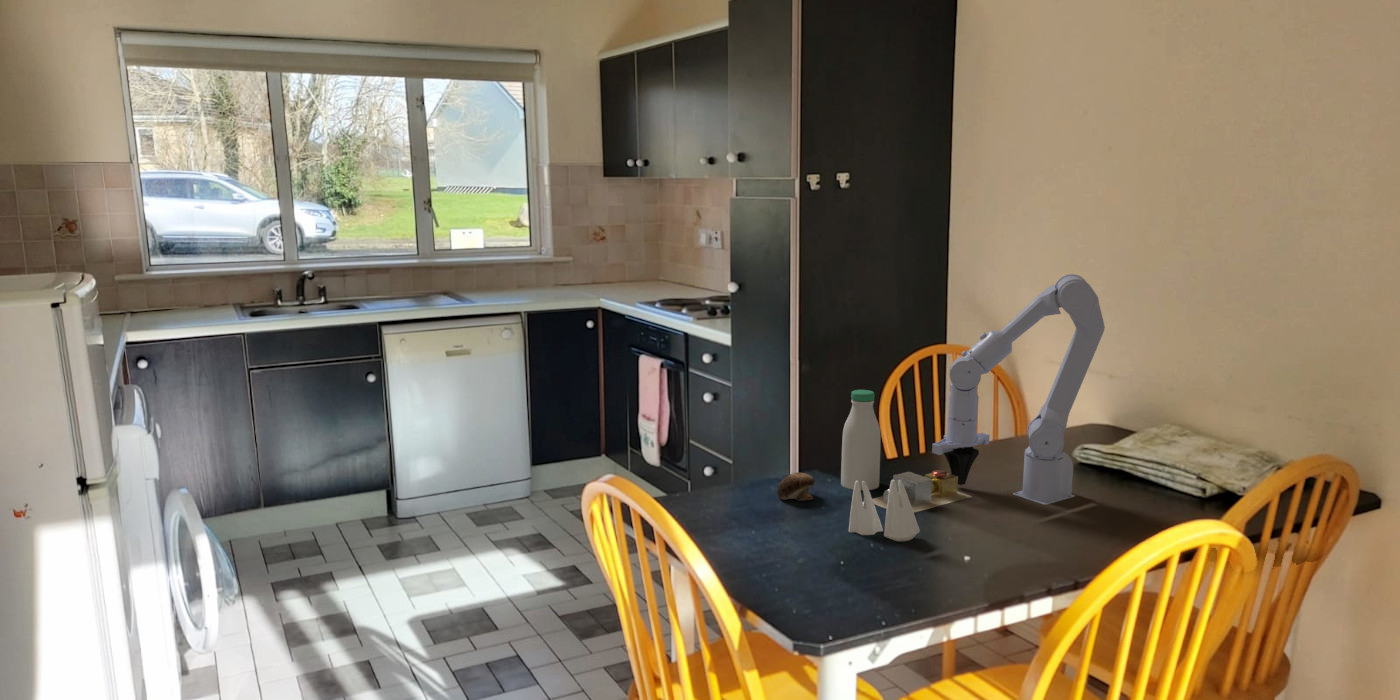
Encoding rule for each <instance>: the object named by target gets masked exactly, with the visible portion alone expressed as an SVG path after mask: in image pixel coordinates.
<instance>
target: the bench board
mask: <svg viewBox="0 0 1400 700" xmlns="http://www.w3.org/2000/svg"><path fill="white" fill-rule="evenodd" d="M972 497H973V496H971V495H969V494H966V493H963V492H961V491H957V494H955V495H952V496H948V497H944V498H939V497H937V496H934V495H931V503H928V504H925V505H921V506H917V507H914V506H911V507H912V509H913V512H914V514H915V513H918V512H921V511H926V510H929V509H932V508H936V507H941V506H943V505H948V504H952V503H954V502H959V501H962V500H966V499H970V498H972ZM872 500H873V502H874V504H875V505H876V506H878V507H880V508H883V509H886V510H887V504H886V502H885V501H884V498H883V495H881V496H878V497H874V498H872Z"/></svg>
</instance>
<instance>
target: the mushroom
mask: <svg viewBox="0 0 1400 700" xmlns="http://www.w3.org/2000/svg"><path fill="white" fill-rule="evenodd" d="M815 483H816V480H815V478H814V477H813V475H810V474H808V473H805V472H793V473H791V474H789V475H787V476H786V477H784V478H783V479H782V480H781V481H780V483H779V484H778V486H777V496H778V498H779V499H780V500H782V501H783V500H784V501H786V500H790V499H791V500H792V499H793V500H796V501H798V502H800V501H801V502H803V501H812V500H814V499H815V498H814V496H813V495H812V494H811V493H810V492H809V489H810V488H811V487H813V486H814V485H815Z"/></svg>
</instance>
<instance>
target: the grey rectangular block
mask: <svg viewBox="0 0 1400 700" xmlns="http://www.w3.org/2000/svg"><path fill="white" fill-rule="evenodd" d="M892 480H895V483H896V488H897V492H898V493H899V485H898V481H899V480H901V481H902V483H903V485H904V487H905V490H906V493H907V496H908V498H909V501H910V504H911V506H914V507H917V506H921V505H925V504H928V503H931V489H932V479H929V478H926V477H925V476H922V475H920V474H917V473H914V472H911V471H906V472H901V473H896V474H893V475H892ZM889 489H890V488H888V489H886V490H884V492H883V495H882V496H883V498H884V501H885V502H886V504H887V502H888V494H889Z"/></svg>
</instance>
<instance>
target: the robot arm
mask: <svg viewBox="0 0 1400 700" xmlns="http://www.w3.org/2000/svg"><path fill="white" fill-rule="evenodd" d="M1098 296H1099V295H1097V293H1096V292H1095V290H1094V289H1093V287H1092V286H1091V285H1090V284H1089V282H1087V280H1085V279H1084V278H1083V276H1080V275H1077V274H1073V273H1072V274H1065V275H1063V276H1061V277H1060V278H1059V279H1058V280H1057V281H1056V283H1055V284H1054V283H1053V284H1051V285H1050V286H1048V287H1046V288H1045V289H1044V290H1043V291H1042V292H1041V293H1039V294H1038V295H1037V296H1036V297H1034V299H1032V301H1030V302H1029V303H1028V304H1027V305H1026V306H1024V308H1023V309H1022V310H1021V311H1020V312H1019V313H1018V314H1016V316H1015V317H1013V318H1012V319H1011V320H1010V321H1009V322H1008V323H1007V324H1006V325H1005V326H1004V327H1003V328H1002V329H1000V330H990V331H988V332H987V333H986V332H984V331H983V333H981V334H980V335H979V339H980V340H978V341H977V342H976V343H975V344H974V345H973V346H971V348H969V349H968V350H963V351H962V352H961V356H960V357H958V358H957V359H955V360H954V361H953V362H952V364H951V366H950V368H949V379H950V381H951V382H950V386H949V394H948V405H947V407H948V408H947V428H946V430H947V431H946V434H944V435H943V439H941V440H939V441H937V442H934V443H932V446H931V447H932V448H931V453H932V454H935V455H938V456H941V455H944V457H945V459H946V461H947V463H948V465H949V469H950V472H951V473H950V474H952V475H955V476H958V485H960V486H962V485H966V483H967V481H968V480H967V479H968V476H969V473H970V470H971V468H972V466H973V464H974V462H975V461H976V459H977V458H978V456H979V455H980V454H979V453H980V451H979V449H977V448H974V447H976V446H980V445H985V446H986V445H989V444H990V434H987V433H983V432H980V433H977V432H978V416H979V395H978V387H979V384H980V383H981V379H982V375H985V374H988V373H989V372H990V371H992V369H994V368H995V367H997V366H998V364H999V363H1001V362H1002V361H1003V360H1004V359H1005V358H1006V357H1008V356H1009V355H1010V354H1011V353H1012V349H1013V342H1014V341H1016V340H1017V339H1019V337H1021V336H1022V335H1023V334H1024V333H1026V332H1027V331H1028V330H1030V329H1031V328H1032V327H1033V326H1034V325H1036V324H1037V323H1038V322H1039V321H1041V320H1042V319H1043V318H1044V317H1046V316H1055V315H1061V314H1062V312H1061V311H1060V308H1062V309H1063V310H1064V311H1065V313H1067V314H1068V315H1069V318H1071V321H1072V322H1073V324H1074V327H1075V330H1074V332H1073V335H1072V338H1071V340H1070V342H1069V345H1068V347H1067V350H1066V353H1065V355H1064V357H1063V359H1062V362H1061V364H1060V366H1059V368H1058V371H1057V374H1056V376H1055V379H1053V380H1054V381H1053V382H1052V383H1053V384H1052V386H1051V389H1050V391H1049V393H1048V396H1047V398H1046V399H1045V403H1044V404H1043V405H1042V407H1040V410H1039V412H1038V414H1037V415H1036V416H1035V418H1033V419H1032V420H1031V421H1030V422H1029V423H1028V425H1027V428H1026V429H1027V430H1026V432H1027V433H1026V434H1027V437H1028V440H1029V441H1028V444H1029V445H1028V447H1027V448H1025V450H1024V458H1023V459H1024V460H1023V472H1022V473H1023V474H1022V475H1023V476H1022V489H1021V490H1019V491H1016V492H1013V493H1012V494H1013V495H1014V496H1018V497H1020V498H1024V499H1026V500H1029V501H1033V502H1035V503H1039V504H1042V505H1045V506H1047V505H1051V504H1054V503H1056V502H1060V501H1065V500H1067V499H1068V500H1069V499H1070V498H1071V499H1072V498H1074V497H1076V495H1075V494H1073V493H1072V491H1073V488H1072V487H1073V475H1074V464H1073V461H1072V458H1071V457H1070V456H1069V455H1068V454H1067V453H1066V452H1064V451H1063V449H1064V446H1065V440H1064V439H1065V438H1064V434H1065V431H1066V428H1067V426H1068V420H1069V416H1070V413H1071V410H1072V407H1073V406H1074V403H1075V400H1076V398H1077V396H1078V394H1079V391H1080V389H1081V387H1082V384H1083V381H1084V380H1085V377H1086V375H1087V373H1088V370H1089V368H1090V365H1091V363H1092V360H1093V358H1094V356H1095V354H1096V352H1097V349H1098V346H1099V343H1100V341H1101V340H1102V338H1103V337H1102V336H1103V334H1104V332H1105V327H1106V326H1105V322H1104V318H1103V315H1102V313H1103V312H1102V310H1101V305H1100V299H1099V297H1098Z"/></svg>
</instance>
